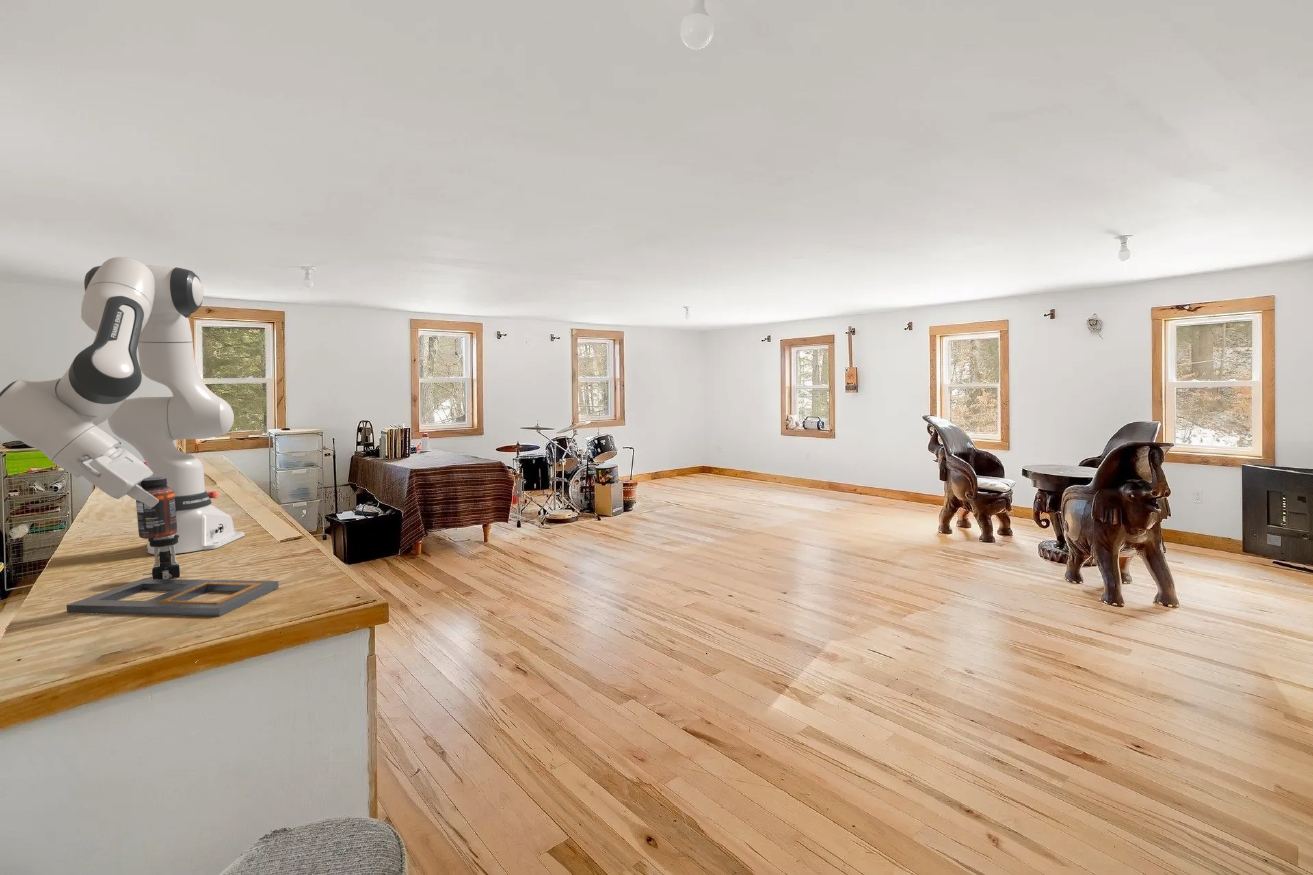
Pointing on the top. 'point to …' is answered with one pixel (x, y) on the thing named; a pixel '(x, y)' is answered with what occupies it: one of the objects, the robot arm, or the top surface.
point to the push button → (164, 558)
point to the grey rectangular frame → (174, 597)
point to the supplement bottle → (157, 510)
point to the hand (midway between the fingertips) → (160, 501)
